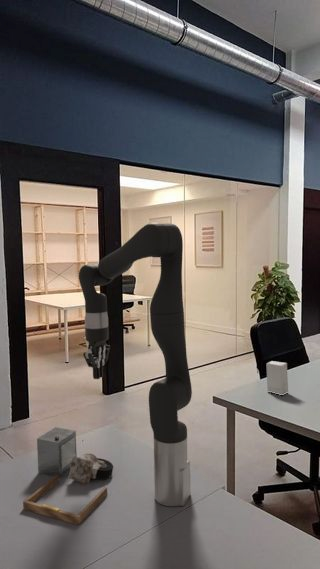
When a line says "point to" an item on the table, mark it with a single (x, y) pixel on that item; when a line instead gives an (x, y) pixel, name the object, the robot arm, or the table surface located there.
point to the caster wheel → (89, 468)
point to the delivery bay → (56, 512)
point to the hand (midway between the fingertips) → (98, 377)
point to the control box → (56, 451)
